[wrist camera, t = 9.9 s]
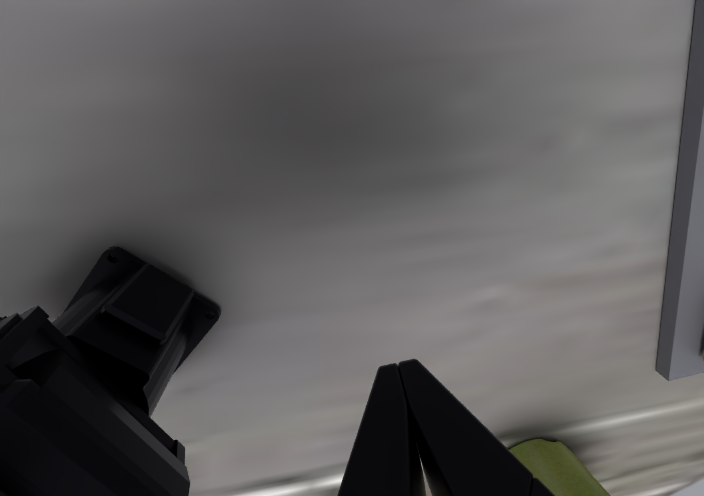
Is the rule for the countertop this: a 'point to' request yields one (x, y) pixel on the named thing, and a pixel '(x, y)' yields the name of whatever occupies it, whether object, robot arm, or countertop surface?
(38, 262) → the countertop surface
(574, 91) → the countertop surface
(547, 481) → the plant pot
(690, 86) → the key console
